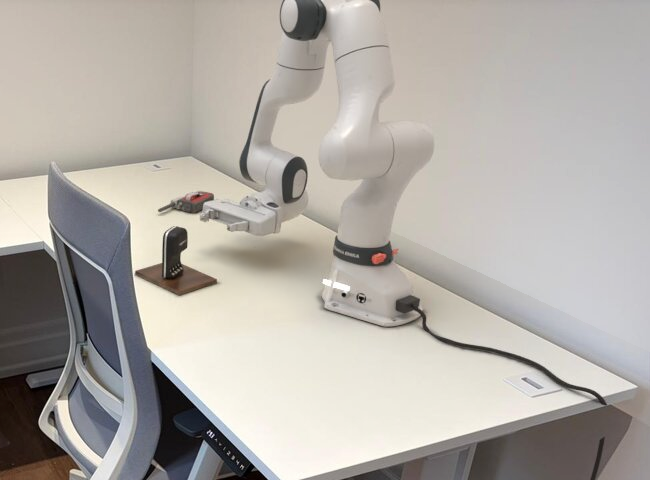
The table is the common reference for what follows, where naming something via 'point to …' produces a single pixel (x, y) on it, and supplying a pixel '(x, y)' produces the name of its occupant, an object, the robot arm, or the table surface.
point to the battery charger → (173, 251)
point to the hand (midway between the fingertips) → (215, 223)
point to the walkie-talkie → (190, 202)
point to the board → (177, 279)
